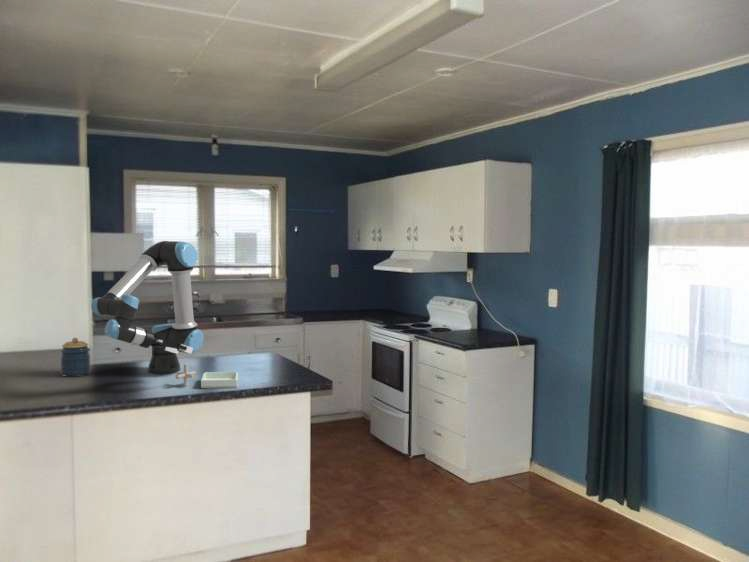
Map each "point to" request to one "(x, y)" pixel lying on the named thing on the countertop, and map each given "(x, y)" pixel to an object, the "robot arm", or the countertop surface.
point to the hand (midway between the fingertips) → (185, 351)
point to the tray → (219, 380)
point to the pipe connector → (185, 374)
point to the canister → (75, 358)
